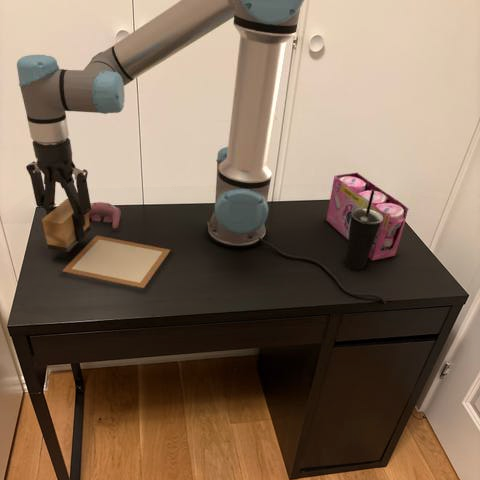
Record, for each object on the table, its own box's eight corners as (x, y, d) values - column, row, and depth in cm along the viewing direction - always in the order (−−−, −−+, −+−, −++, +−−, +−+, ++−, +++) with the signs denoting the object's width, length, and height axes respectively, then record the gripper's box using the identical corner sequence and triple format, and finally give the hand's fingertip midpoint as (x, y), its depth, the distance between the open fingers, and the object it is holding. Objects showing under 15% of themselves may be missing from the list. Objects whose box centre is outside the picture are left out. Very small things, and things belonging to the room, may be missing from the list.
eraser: (90, 229, 125) (85, 201, 120) (67, 252, 117) (62, 223, 112) (72, 226, 126) (66, 198, 121) (48, 248, 117) (41, 219, 113)
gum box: (399, 258, 132) (414, 211, 123) (374, 264, 129) (387, 216, 120) (347, 216, 148) (357, 171, 139) (324, 220, 145) (333, 175, 136)
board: (170, 253, 127) (170, 249, 126) (144, 292, 114) (143, 287, 113) (96, 239, 130) (96, 235, 129) (62, 275, 117) (61, 270, 116)
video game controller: (121, 230, 137) (122, 204, 135) (116, 231, 132) (117, 204, 131) (85, 227, 137) (86, 200, 136) (79, 227, 133) (80, 200, 131)
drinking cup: (372, 260, 130) (391, 187, 117) (368, 276, 124) (388, 201, 112) (342, 253, 132) (358, 181, 119) (337, 268, 126) (353, 194, 113)
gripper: (99, 138, 107) (111, 235, 122) (22, 127, 110) (43, 223, 125) (81, 151, 102) (97, 251, 116) (1, 139, 105) (26, 237, 119)
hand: (69, 236), depth 121 cm, fingers closed on eraser, 5 cm apart
